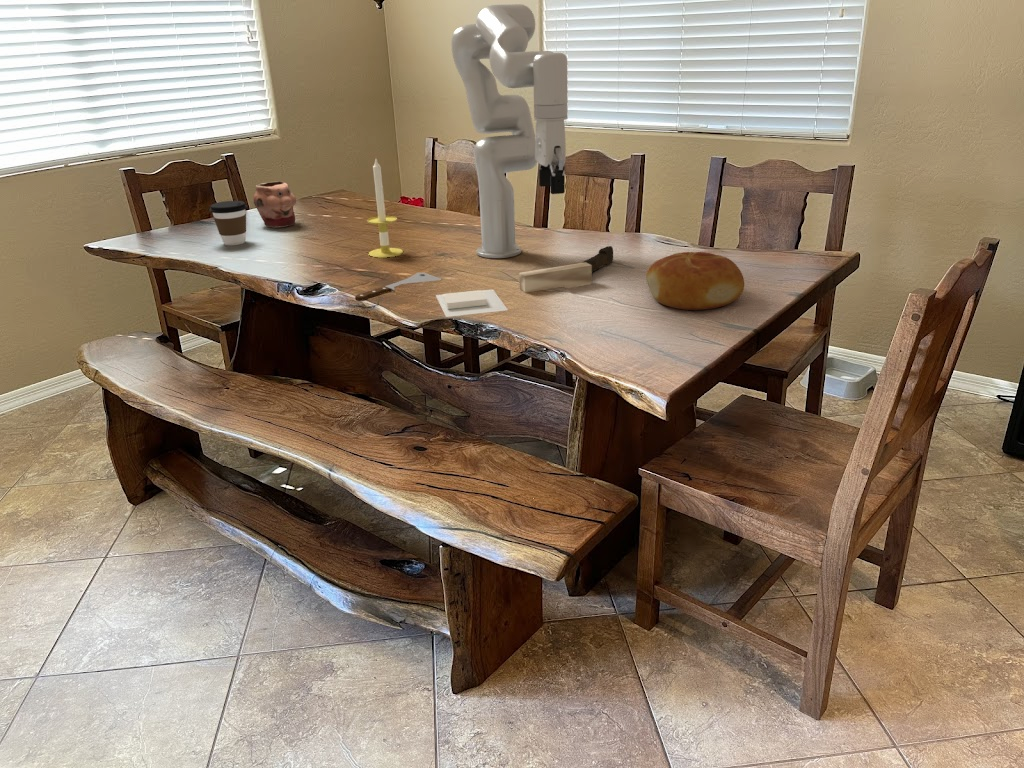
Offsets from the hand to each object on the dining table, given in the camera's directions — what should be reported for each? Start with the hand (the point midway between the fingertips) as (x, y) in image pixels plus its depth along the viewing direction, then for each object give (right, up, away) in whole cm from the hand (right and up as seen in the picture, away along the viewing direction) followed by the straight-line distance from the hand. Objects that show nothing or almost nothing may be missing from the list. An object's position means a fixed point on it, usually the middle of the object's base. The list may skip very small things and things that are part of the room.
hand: (551, 189), depth 182 cm
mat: (-19, -27, -2) cm, 33 cm away
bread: (+32, -26, -1) cm, 41 cm away
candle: (-46, -8, +42) cm, 63 cm away
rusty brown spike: (+12, -16, +22) cm, 29 cm away
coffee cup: (-95, -2, +59) cm, 112 cm away
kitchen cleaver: (-37, -22, +12) cm, 45 cm away
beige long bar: (+1, -22, +8) cm, 24 cm away
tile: (-16, -25, -2) cm, 30 cm away
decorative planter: (-88, +8, +80) cm, 120 cm away
